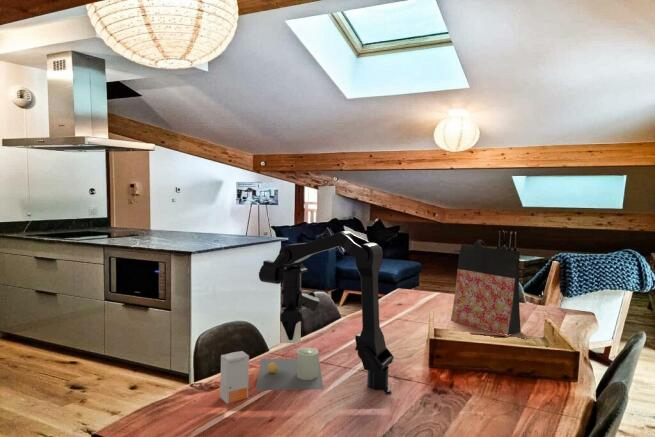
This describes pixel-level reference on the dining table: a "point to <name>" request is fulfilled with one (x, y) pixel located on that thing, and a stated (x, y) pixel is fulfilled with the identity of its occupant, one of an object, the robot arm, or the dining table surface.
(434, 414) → the dining table surface
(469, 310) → the gift bag
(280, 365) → the mat
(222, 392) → the skincare box
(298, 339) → the cream cup
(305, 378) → the sage cup
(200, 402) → the dining table surface
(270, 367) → the amber marble
